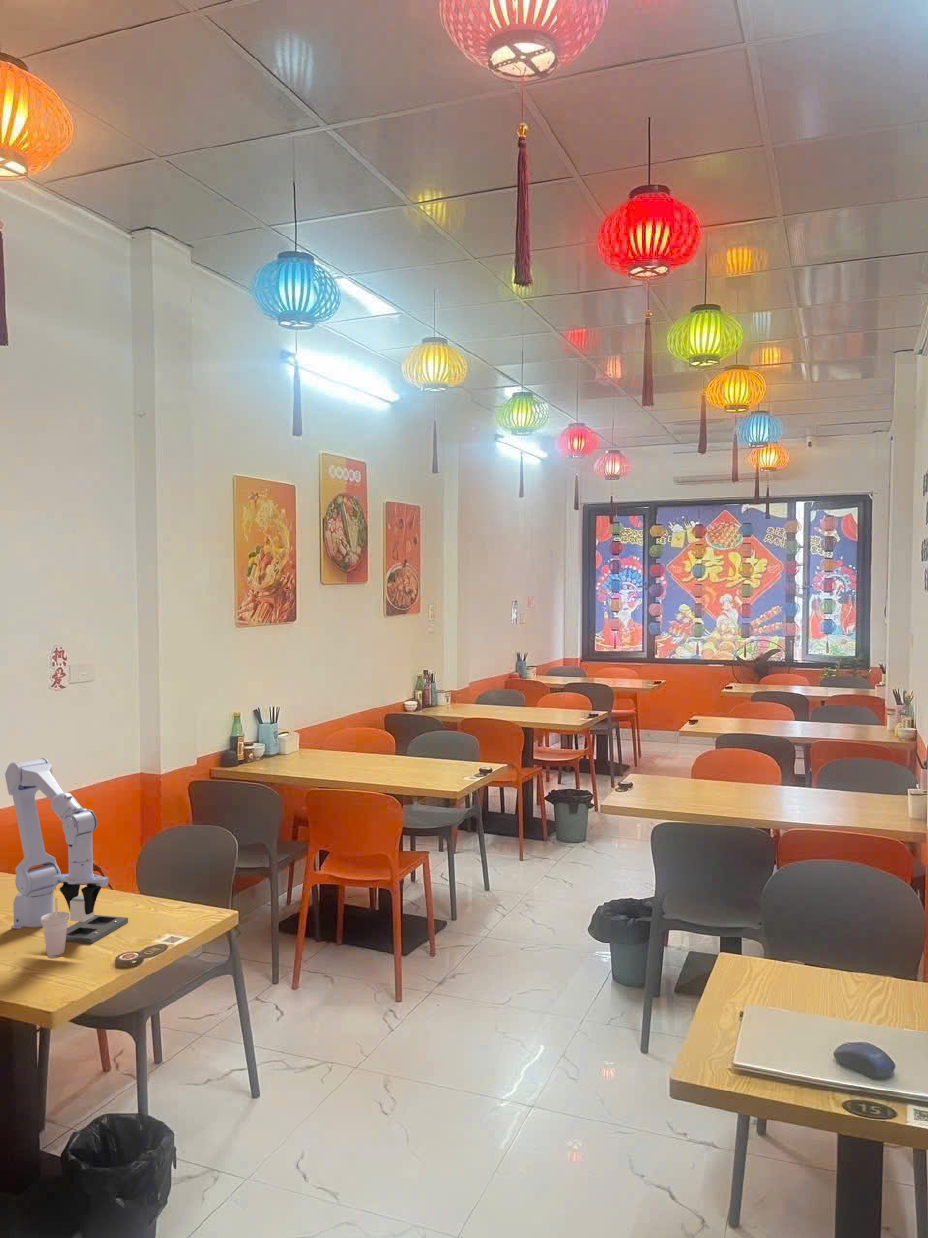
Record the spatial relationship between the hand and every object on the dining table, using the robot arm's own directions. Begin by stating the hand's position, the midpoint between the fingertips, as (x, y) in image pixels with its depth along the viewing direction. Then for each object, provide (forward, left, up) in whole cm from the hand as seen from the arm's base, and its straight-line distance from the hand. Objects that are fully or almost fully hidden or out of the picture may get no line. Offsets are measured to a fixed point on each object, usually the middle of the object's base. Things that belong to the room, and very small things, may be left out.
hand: (81, 912), depth 223 cm
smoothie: (0, -10, -7) cm, 12 cm away
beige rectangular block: (0, 0, -2) cm, 2 cm away
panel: (0, +4, -7) cm, 8 cm away
